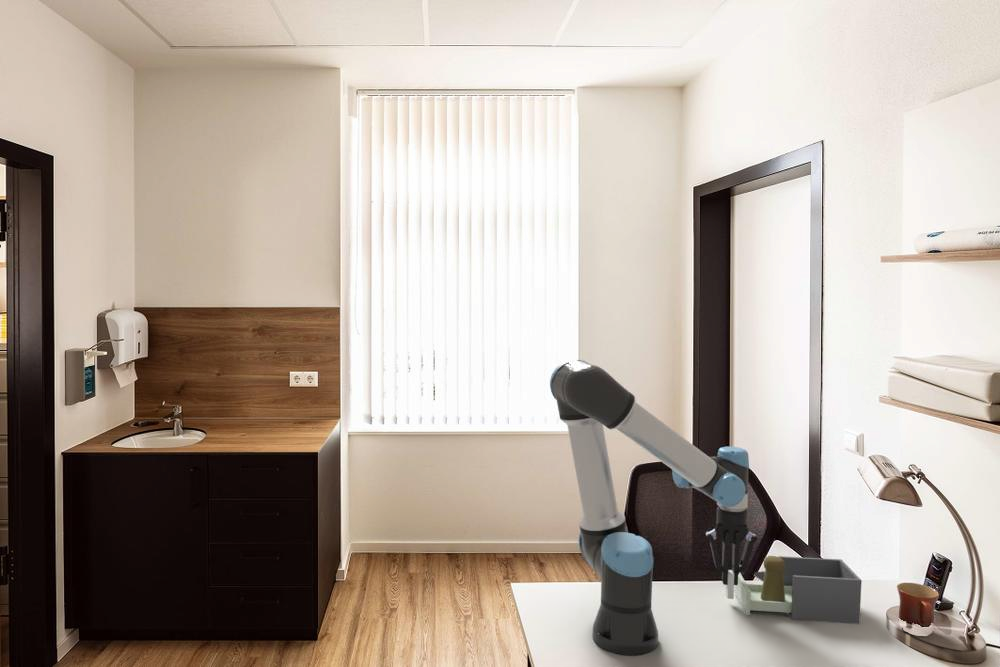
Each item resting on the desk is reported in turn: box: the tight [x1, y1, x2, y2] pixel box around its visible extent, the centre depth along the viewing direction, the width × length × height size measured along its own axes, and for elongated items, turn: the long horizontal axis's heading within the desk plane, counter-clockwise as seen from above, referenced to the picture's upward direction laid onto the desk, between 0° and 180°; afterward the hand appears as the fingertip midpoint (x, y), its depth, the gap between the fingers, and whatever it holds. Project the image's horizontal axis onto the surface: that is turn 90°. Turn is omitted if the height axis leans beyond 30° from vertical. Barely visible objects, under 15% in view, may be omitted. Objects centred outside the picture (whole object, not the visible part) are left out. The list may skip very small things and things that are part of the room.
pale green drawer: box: [734, 572, 792, 616], centre depth 184 cm, size 15×13×6 cm
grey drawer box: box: [778, 555, 862, 625], centre depth 183 cm, size 16×14×11 cm
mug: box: [896, 582, 940, 627], centre depth 170 cm, size 12×9×10 cm
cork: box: [761, 555, 785, 602], centre depth 184 cm, size 6×6×11 cm
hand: (729, 596), depth 185 cm, fingers closed
